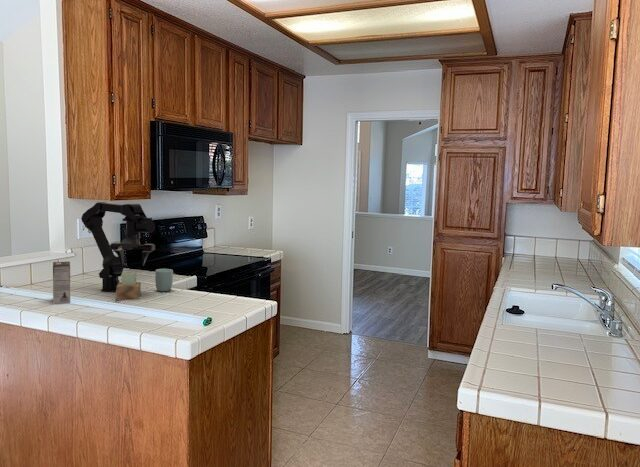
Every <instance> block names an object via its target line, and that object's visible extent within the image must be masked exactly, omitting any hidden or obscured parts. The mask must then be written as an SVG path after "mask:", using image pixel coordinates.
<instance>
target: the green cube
mask: <svg viewBox="0 0 640 467" xmlns="http://www.w3.org/2000/svg"><path fill="white" fill-rule="evenodd" d="M121 282H122V285H130V286H133V285H135V284H136V282H137V272H135V271H123V272H122V274H121Z"/></svg>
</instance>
